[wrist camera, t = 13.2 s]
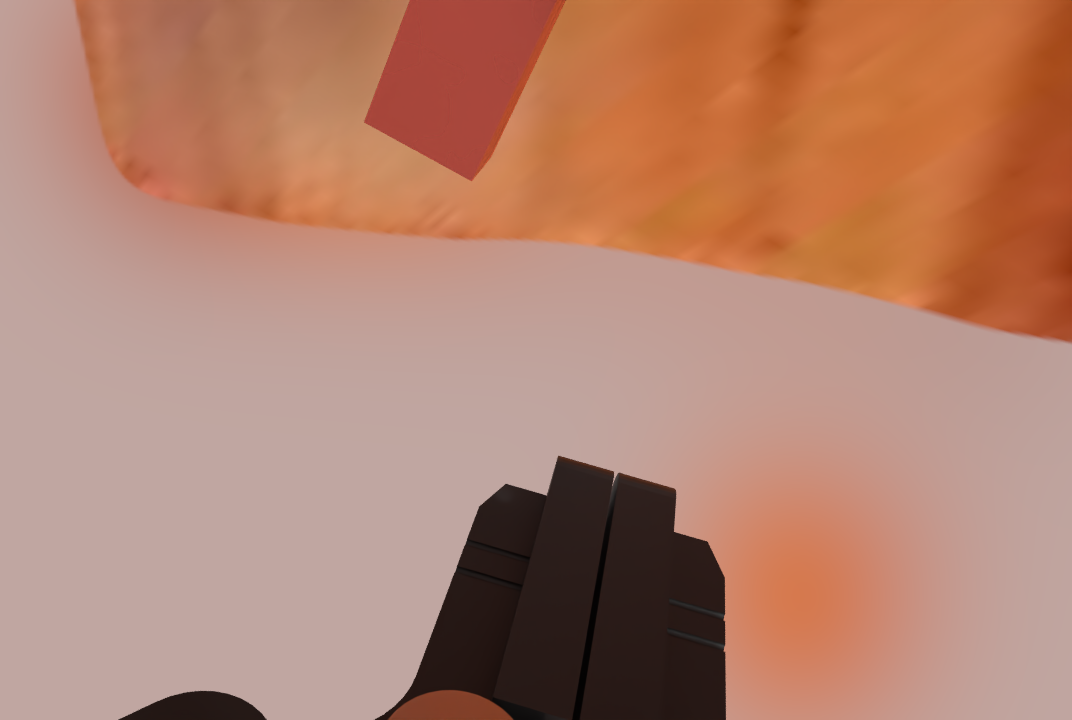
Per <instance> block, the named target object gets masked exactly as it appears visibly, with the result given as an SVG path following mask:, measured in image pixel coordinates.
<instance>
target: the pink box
mask: <svg viewBox="0 0 1072 720" xmlns="http://www.w3.org/2000/svg"><path fill="white" fill-rule="evenodd" d="M565 1H566V0H410V2H409V4H408V7H407V10H406V12H405V15H404V17H403V20H402V23H401V25H400V28H399V31H398V33H397V36H396V39H395V41H394V44H393V47H392V49H391V52H390V55H389V57H388V60H387V63H386V65H385V68H384V71H383V73H382V76H381V79H380V81H379V84H378V87H377V89H376V92H375V94H374V97H373V100H372V102H371V105H370V108H369V110H368V113H367V116H366V118H365V121H364V122H365V123H366V124H368V125H370V126H372V127H374V128H376V129H377V130H379V131H381V132H383V133H385V134H386V135H388V136H390V137H392V138H394V139H396V140H397V141H399V142H401V143H403V144H405V145H407V146H408V147H410V148H412V149H414V150H416V151H418V152H419V153H421V154H423V155H425V156H427V157H428V158H430V159H432V160H434V161H436V162H438V163H439V164H441V165H443V166H445V167H447V168H449V169H450V170H452V171H454V172H456V173H458V174H460V175H461V176H463V177H465V178H467V179H469V180H470V181H472V180H473V179H474V178H475V176H476V175H477V174H478V173H479V172H480V170H481V169H482V168H483V167H484V165H485V164H486V163H487V162H488V160H489V159H490V158H491V156H492V154H493V152H494V150H495V148H496V146H497V143H498V141H499V139H500V137H501V135H502V133H503V131H504V129H505V127H506V125H507V123H508V120H509V118H510V116H511V114H512V112H513V110H514V108H515V106H516V104H517V102H518V99H519V97H520V95H521V93H522V91H523V89H524V87H525V85H526V83H527V81H528V78H529V76H530V74H531V72H532V70H533V68H534V66H535V64H536V62H537V60H538V58H539V55H540V53H541V51H542V49H543V47H544V45H545V43H546V41H547V39H548V37H549V34H550V32H551V30H552V28H553V26H554V24H555V22H556V20H557V18H558V16H559V13H560V11H561V9H562V7H563V5H564V3H565Z"/></svg>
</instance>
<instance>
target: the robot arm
mask: <svg viewBox="0 0 1072 720" xmlns="http://www.w3.org/2000/svg"><path fill="white" fill-rule="evenodd" d="M613 478H614V472H613V471H610V470H607V469H603V468H600V467H596V466H593V465H589V464H586V463H582V462H579V461H575V460H572V459H568V458H565V457H561V456H558V458H557V462H556V465H555V469H554V472H553V476H552V479H551V483H550V486H549V490H548V493H547V496H546V495H543V494H539V493H536V492H533V491H529V490H526V489H522V488H519V487H515V486H511V485H508V484H505V485H504V486H503V487H502V488H501V489H499V490H498V491H497V492H496V493H495V494H493V495H492V496H491V497H490V498H489V499H488V500H486V501H485V502H484V503H483V504H482V505H481V506H479V509H478V511H477V514H476V517H475V519H474V522H473V525H472V527H471V530H470V533H469V535H468V538H467V542H466V545H465V546H464V549H463V552H462V554H461V557H460V560H459V563H458V565H457V569H456V572H455V573H454V576H453V578H452V581H451V584H450V587H449V589H448V592H447V594H446V597H445V600H444V603H443V605H442V608H441V611H440V613H439V616H438V619H437V621H436V624H435V627H434V629H433V632H432V635H431V638H430V640H429V643H428V645H427V648H426V651H425V653H424V656H423V659H422V662H421V665H420V667H419V670H418V672H417V675H416V677H415V679H414V681H413V684H412V686H411V687H410V689H409V690H408V692H407V693H406V694H405V696H404V697H403V698H402V699H401V700H400V701H399V702H398V703H397V704H396V705H395V706H394V707H393V708H392V709H390V710H389V711H388V712H386V713H385V714H384V715H382V716H380V717H379V718H377V719H375V720H726V693H725V692H726V690H725V689H726V688H725V686H726V682H725V652H724V646H725V621H723V619H724V615H725V577H724V575H723V573H722V571H721V569H720V567H719V565H718V563H717V561H716V558H715V556H714V554H713V552H712V550H711V548H710V546H709V544H708V542H707V541H703V540H700V539H696V538H693V537H689V536H686V535H683V534H679V533H676V532H674V521H675V506H676V490H675V489H674V488H670V487H667V486H663V485H660V484H657V483H653V482H650V481H646V480H642V479H639V478H635V477H632V476H629V475H625V474H622V473H618V474H617V476H616V478H615V481H614V484H613ZM612 484H613V486H612ZM119 720H266V719H265V717H264V716H263V714H262V713H261V712H260V711H258V710H257V709H256V708H255V707H254V706H253V705H251V704H249V703H248V702H246V701H244V700H243V699H241V698H238V697H235V696H233V695H230V694H226V693H220V692H215V691H195V692H187V693H182V694H178V695H174V696H170V697H167V698H165V699H163V700H160V701H157V702H155V703H153V704H151V705H149V706H146V707H144V708H142V709H140V710H138V711H136V712H134V713H132V714H130V715H128V716H125V717H123V718H121V719H119Z"/></svg>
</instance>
